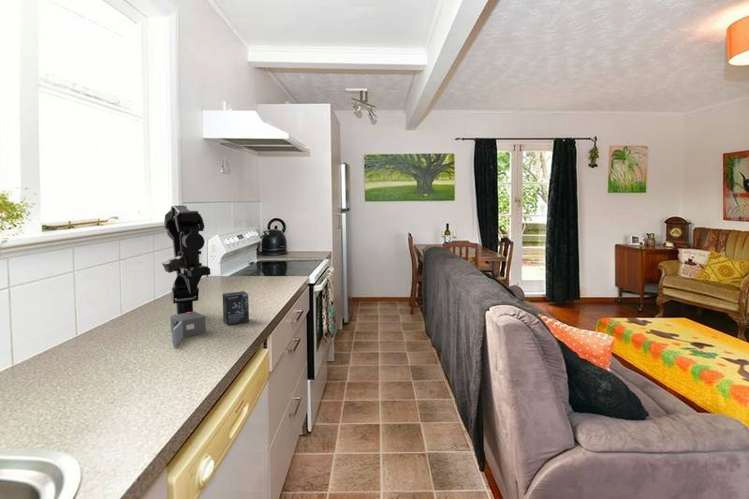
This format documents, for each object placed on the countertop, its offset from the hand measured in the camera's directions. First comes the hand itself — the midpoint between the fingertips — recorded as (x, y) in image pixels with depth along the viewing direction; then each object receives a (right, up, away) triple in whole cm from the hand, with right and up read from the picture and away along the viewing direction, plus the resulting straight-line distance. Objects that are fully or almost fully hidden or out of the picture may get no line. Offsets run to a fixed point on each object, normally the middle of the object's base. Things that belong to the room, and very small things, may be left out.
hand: (192, 293), depth 146 cm
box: (+12, -11, +9) cm, 19 cm away
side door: (+2, -13, -14) cm, 19 cm away
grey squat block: (0, -12, -3) cm, 13 cm away
